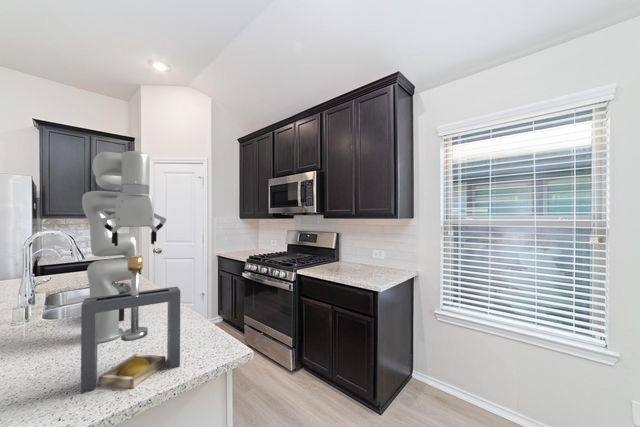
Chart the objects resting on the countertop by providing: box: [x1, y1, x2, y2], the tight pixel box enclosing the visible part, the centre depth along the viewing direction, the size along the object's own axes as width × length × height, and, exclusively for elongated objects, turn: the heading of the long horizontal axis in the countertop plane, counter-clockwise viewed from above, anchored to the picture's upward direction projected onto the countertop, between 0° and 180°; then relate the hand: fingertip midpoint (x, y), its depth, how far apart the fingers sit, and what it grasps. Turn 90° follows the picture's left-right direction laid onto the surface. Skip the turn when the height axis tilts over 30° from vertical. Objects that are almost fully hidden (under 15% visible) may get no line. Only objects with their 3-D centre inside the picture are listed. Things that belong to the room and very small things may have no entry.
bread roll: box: [118, 358, 150, 377], centre depth 87 cm, size 8×9×4 cm
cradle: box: [98, 353, 166, 389], centre depth 87 cm, size 11×13×2 cm
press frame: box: [80, 286, 181, 395], centre depth 87 cm, size 7×25×25 cm, turn 125°
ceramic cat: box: [111, 281, 127, 322], centre depth 135 cm, size 20×6×20 cm, turn 48°
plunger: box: [120, 255, 149, 342], centre depth 87 cm, size 7×7×25 cm
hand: (134, 244), depth 88 cm, fingers open, 9 cm apart
